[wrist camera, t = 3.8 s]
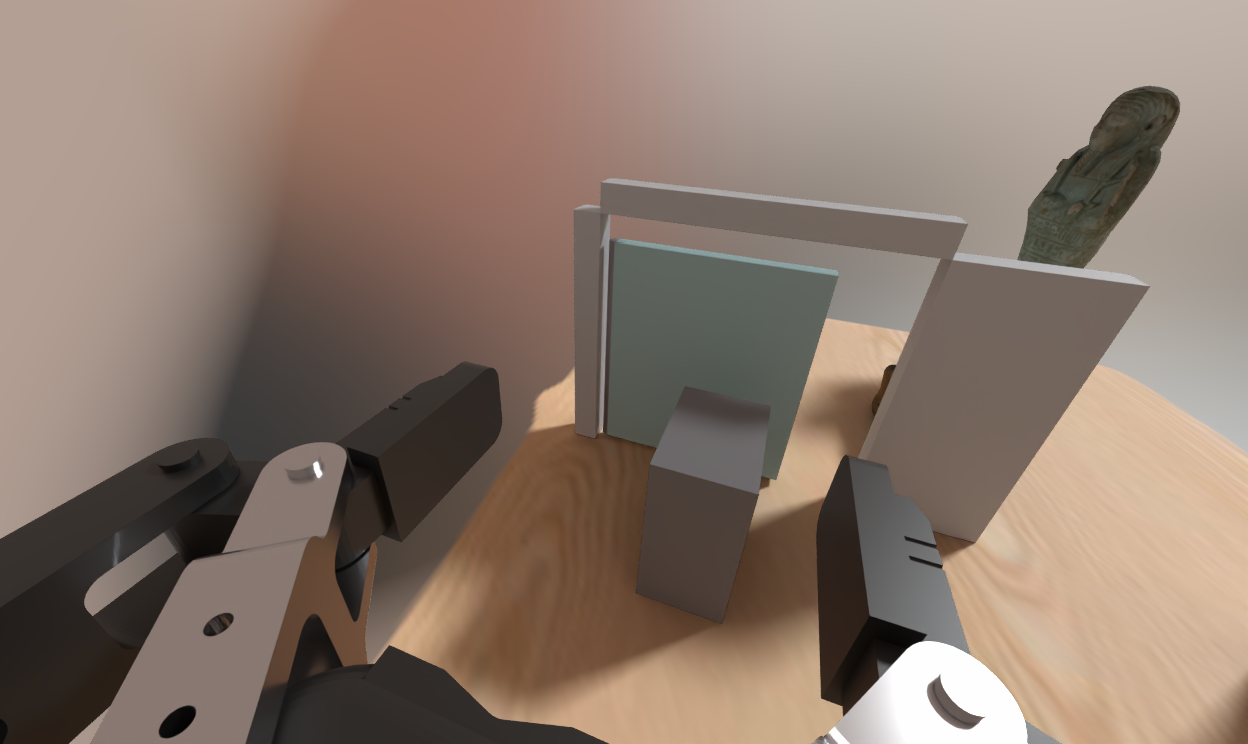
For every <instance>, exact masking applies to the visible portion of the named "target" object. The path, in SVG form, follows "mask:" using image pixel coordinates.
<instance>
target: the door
mask: <svg viewBox="0 0 1248 744" xmlns="http://www.w3.org/2000/svg"><path fill="white" fill-rule="evenodd" d="M837 279H838V271H836V270H829V269H822V268H816V267H809V266H802V265H795V264H789V263H782V262H775V261H769V260H762V259H755V258H748V257H741V256H735V255H728V254H721V253H714V252H707V251H701V250H694V249H687V248H680V247H673V246H667V245H660V244H653V243H646V242H640V241H632V240H625V239H619V238H614V239H610V240H609V264H608V294H607V324H606V354H605V384H604V414H603V432H604V433H605V434H607V435H610V436H614V437H618V438H622V439H625V440H629V441H633V442H636V443H640V444H644V445H648V446H651V447H655V448H657V447H658V445H659V442H660V440H661V438H662V436H663V434H664V431H665V429H666V427H667V425H668V422H669V420H670V418H671V416H672V414H673V411H674V409H675V407H676V405H677V403H678V400H679V398H680V396H681V394H682V392H683V389H684V387H685V386H687V387H691V388H696V389H700V390H704V391H709V392H713V393H717V394H722V395H726V396H731V397H735V398H739V399H744V400H748V401H752V402H757V403H761V404H766V405H770V406H771V409H770V416H769V424H768V431H767V438H766V446H765V453H764V460H763V468H762V475H761V476H763V477H766V478H770V479H774V480H776V479H777V476H778V472H779V469H780V466H781V463H782V459H783V456H784V453H785V450H786V446H787V443H788V440H789V436H790V433H791V430H792V427H793V423H794V420H795V417H796V414H797V410H798V407H799V404H800V400H801V397H802V394H803V391H804V387H805V384H806V381H807V378H808V374H809V371H810V368H811V364H812V361H813V358H814V355H815V351H816V348H817V345H818V342H819V338H820V335H821V332H822V328H823V325H824V322H825V319H826V315H827V312H828V309H829V306H830V302H831V299H832V296H833V292H834V289H835V286H836V283H837Z"/></svg>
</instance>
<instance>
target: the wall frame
mask: <svg viewBox="0 0 1248 744" xmlns="http://www.w3.org/2000/svg"><path fill="white" fill-rule="evenodd" d="M610 214H612V215H619V216H627V217H635V218H641V219H649V220H657V221H664V222H671V223H679V224H686V225H694V226H701V227H709V228H717V229H724V230H732V231H739V232H746V233H754V234H762V235H769V236H777V237H785V238H792V239H799V240H806V241H814V242H821V243H829V244H836V245H844V246H851V247H859V248H866V249H874V250H882V251H889V252H897V253H904V254H911V255H919V256H926V257H934V258H941V260H940V262H939V265H938V267H937V270H936V272H935V274H934V277H933V279H932V281H931V284H930V287H929V289H928V291H927V293H926V296H925V298H924V300H923V303H922V305H921V308H920V310H919V312H918V315H917V318H916V320H915V322H914V325H913V327H912V329H911V332H910V334H909V336H908V339H907V341H906V344H905V346H904V348H903V351H902V353H901V356H900V358H899V360H898V363H897V365H896V367H895V370H894V372H893V375H892V377H891V379H890V382H889V384H888V387H887V389H886V391H885V394H884V396H883V399H882V401H881V403H880V406H879V408H878V411H877V413H876V415H875V418H874V420H873V423H872V425H871V427H870V430H869V432H868V434H867V437H866V439H865V442H864V444H863V446H862V449H861V451H860V454H859V456H858V458H860V459H864V460H868V461H872V462H876V463H880V464H884V465H886V466H887V467H888V470H889V474H890V478H891V482H892V487H893V491H894V494H898V495H902V496H906V497H909V498H912V500H913V501H914V502H915V503H916V505H917V506H918V507H919V509H920V510H921V511H922V512H923V514H924V515H925V516H926V518H927V519H928V520H929V522H930V525H931V528H932V531H934V532H938V533H941V534H945V535H949V536H952V537H956V538H960V539H963V540H967V541H971V542H974V543H976V541H977V540H978V538H979V537H980V535H981V534H982V532H983V531H984V529H985V528H986V526H987V525H988V524H989V522H990V521H991V519H992V518H993V516H994V515H995V513H996V512H997V510H998V509H999V507H1000V506H1001V504H1002V503H1003V502H1004V500H1005V499H1006V497H1007V496H1008V494H1009V493H1010V491H1011V490H1012V488H1013V487H1014V485H1015V484H1016V482H1017V481H1018V480H1019V478H1020V477H1021V475H1022V474H1023V472H1024V471H1025V469H1026V468H1027V466H1028V465H1029V463H1030V462H1031V460H1032V459H1033V458H1034V456H1035V455H1036V453H1037V452H1038V450H1039V449H1040V447H1041V446H1042V444H1043V443H1044V441H1045V440H1046V438H1047V437H1048V436H1049V434H1050V433H1051V431H1052V430H1053V428H1054V427H1055V425H1056V424H1057V422H1058V421H1059V419H1060V418H1061V416H1062V415H1063V414H1064V412H1065V411H1066V409H1067V408H1068V406H1069V405H1070V403H1071V402H1072V400H1073V399H1074V397H1075V396H1076V395H1077V393H1078V392H1079V390H1080V389H1081V387H1082V386H1083V384H1084V383H1085V381H1086V380H1087V378H1088V377H1089V375H1090V374H1091V373H1092V371H1093V370H1094V368H1095V367H1096V365H1097V364H1098V362H1099V361H1100V359H1101V358H1102V356H1103V355H1104V353H1105V352H1106V350H1107V349H1108V348H1109V346H1110V345H1111V343H1112V342H1113V340H1114V339H1115V337H1116V336H1117V334H1118V333H1119V331H1120V330H1121V329H1122V327H1123V326H1124V324H1125V323H1126V321H1127V320H1128V318H1129V317H1130V315H1131V314H1132V312H1133V311H1134V309H1135V308H1136V307H1137V305H1138V304H1139V302H1140V300H1141V299H1142V298H1143V296H1144V295H1145V293H1146V292H1147V290H1148V289H1149V287H1150V286H1149V285H1147V284H1145V283H1143V282H1141V281H1139V280H1137V279H1136V278H1134V277H1132V276H1130V275H1127V274H1120V273H1112V272H1104V271H1096V270H1089V269H1081V268H1073V267H1066V266H1058V265H1050V264H1042V263H1035V262H1027V261H1019V260H1011V259H1004V258H995V257H988V256H980V255H972V254H965V253H957V252H956V251H957V249H958V246H959V244H960V242H961V239H962V237H963V235H964V232H965V230H966V228H967V225H968V223H966V222H965V221H964V220H962V219H961V218H960V217H958V216H949V215H940V214H931V213H922V212H912V211H904V210H895V209H886V208H877V207H867V206H859V205H850V204H840V203H832V202H823V201H814V200H804V199H796V198H787V197H777V196H768V195H760V194H749V193H741V192H732V191H723V190H714V189H705V188H695V187H687V186H678V185H669V184H660V183H650V182H642V181H633V180H624V179H615V178H611V179H608V180H605V181H602V182H601V201H600V206H593V205H583V206H581V207H578V208H576V209H574V311H575V312H574V323H575V324H574V325H575V433H576V434H580V435H583V436H587V437H591V438H594V439H595V438H596V437H597V435H598V434H599V432H600V430H601V429H602V427H603V414H604V384H605V354H606V324H607V294H608V264H609V240H610Z"/></svg>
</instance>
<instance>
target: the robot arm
mask: <svg viewBox="0 0 1248 744" xmlns="http://www.w3.org/2000/svg"><path fill="white" fill-rule="evenodd" d="M501 426H502V413H501V401H500V391H499V380H498V374H497V372H496V370H495V369H494V368H490V367H486V366H482V365H478V364H474V363H470V362H462V363H460V364H459V365H457V366H456V367H455V368H453V369H452V370H451V371H449V372H448V373H446V374H445V375H444V376H439V377H437V378H434V379H432V380H429V381H426V382H424V383H421V384H419V385H418V386H416V387H415V388H414V389H412V390H411V391H409V392H408V393H406V394H405V395H404V396H403V398H402V399H400V398H399V399H398V400H397V401H395V402H394V403H393V404H391V405H389V408H388V409H386V408H385V409H384V410H382V411H381V412H380V413H378V414H377V415H375V416H374V417H372V418H371V419H370V420H368V421H367V422H365V423H364V424H363V425H361V426H360V427H358V428H357V429H356V430H354V431H353V432H351V433H350V434H348V435H347V436H346V437H344V438H343V439H341V440H340V441H339V442H337V443H336V444H332V443H326V442H324V443H323V442H319V443H311V444H305V445H302V446H298V447H295V448H292V449H290V450H288V451H285V452H284V453H282V454H280V455H278V456H277V457H275V458H274V459H272V460H271V461H270V462H257V461H236V460H235V458H234V456H233V454H232V452H231V450H230V448H229V446H228V445H227V443H226V442H224V441H222V440H220V439H214V438H200V439H193V440H188V441H184V442H180V443H177V444H174V445H171V446H168V447H166V448H164V449H161V450H159V451H157V452H155V453H153V454H152V455H150V456H148V457H146V458H144V459H143V460H141V461H139V462H137V463H135V464H134V465H132V466H130V467H128V468H126V469H125V470H123V471H121V472H119V473H118V474H116V475H114V476H112V477H110V478H109V479H107V480H105V481H103V482H101V483H100V484H98V485H96V486H94V487H93V488H91V489H89V490H87V491H86V492H84V493H82V494H80V495H78V496H76V497H75V498H73V499H71V500H69V501H68V502H66V503H64V504H62V505H60V506H58V507H57V508H55V509H53V510H51V511H50V512H48V513H46V514H44V515H43V516H41V517H39V518H37V519H35V520H34V521H32V522H30V523H28V524H26V525H25V526H23V527H21V528H19V529H17V530H16V531H14V532H12V533H10V534H8V535H7V536H5V537H3V538H1V539H0V744H69V743H70V742H71V741H72V740H73V739H74V738H75V737H76V736H78V734H80V733H81V732H82V731H83V730H84V729H85V728H86V727H87V726H88V725H90V724H91V722H93V721H94V720H95V719H96V718H97V717H99V716H100V715H101V714H102V713H103V712H104V711H105V710H106V709H107V708H108V707H109V706H110V708H109V710H108V712H107V713H106V715H105V717H104V719H103V721H102V723H101V725H100V726H99V728H98V730H97V732H96V734H95V736H94V738H93V739H92V741H91V743H90V744H609V743H606V742H604V741H602V740H600V739H597V738H595V737H593V736H591V735H588V734H586V733H584V732H582V731H580V730H577V729H575V728H573V727H564V726H555V725H546V724H537V723H528V722H519V721H510V720H502V719H498V718H496V717H494V716H492V715H491V714H490V713H489V712H488V711H487V710H486V709H485V708H484V707H483V706H482V705H480V704H479V703H478V702H477V701H476V700H475V699H474V698H473V697H472V696H471V695H470V694H469V693H468V692H467V691H466V690H465V689H464V688H463V687H462V686H461V685H460V684H459V683H458V682H457V681H456V680H455V679H454V678H452V677H451V676H450V675H449V674H448V673H447V672H446V671H445V670H444V669H441V668H439V667H437V666H435V665H433V664H430V663H428V662H426V661H424V660H421V659H419V658H417V657H415V656H412V655H410V654H408V653H406V652H404V651H401V650H399V649H397V648H395V647H392V646H390V645H389V646H388V648H387V649H386V650H385V651H384V653H383V654H382V655H381V657H380V658H379V659H378V660H377V662H376V663H375V664H368V661H367V652H366V642H365V636H366V626H367V619H368V612H369V605H370V598H371V591H372V585H373V584H372V583H373V578H374V570H375V564H376V557H377V548H376V544H375V540H376V539H377V538H378V537H379V536H380V535H384V536H387V537H389V538H392V539H395V540H397V541H400V542H402V541H403V540H404V539H405V538H406V537H407V536H408V535H409V534H410V532H411V531H412V530H413V529H414V528H415V527H416V526H417V525H418V524H419V523H420V522H421V521H422V520H423V519H424V517H426V515H427V514H428V513H429V512H430V511H431V510H432V509H433V508H434V507H435V506H436V505H437V503H438V502H440V500H441V499H442V498H443V497H444V496H445V495H446V494H447V493H448V492H449V491H450V490H451V489H452V488H453V487H454V485H455V484H456V483H457V482H458V481H459V480H460V479H461V478H462V477H463V476H464V475H465V474H466V473H467V472H468V471H469V469H470V468H471V467H472V466H473V465H474V464H475V463H476V462H477V461H478V460H479V459H480V458H481V457H482V455H483V454H484V453H485V452H486V451H487V450H488V449H489V448H490V447H491V446H492V445H493V444H494V442H495V441H496V439H497V437H498V435H499V433H500V430H501ZM163 532H164V533H165V535H166V536H167V538H168V539H169V541H170V542H171V544H172V545H173V547H174V548H175V550H176V551H177V554H175V555H174V556H173V557H171V558H170V559H169V560H167V561H166V562H165V563H163V564H162V565H161V566H159V567H158V568H157V569H155V570H154V571H153V572H151V573H150V574H149V575H147V576H146V577H145V578H143V579H142V580H140V581H139V582H138V583H136V584H135V585H134V586H133V587H131V588H130V589H129V590H127V591H126V592H125V593H123V594H122V595H120V596H119V597H118V598H116V599H115V600H114V601H112V602H111V603H110V604H108V605H107V606H106V607H104V608H103V609H102V610H100V611H99V612H98V613H96V614H95V615H94V616H92V615H91V614H90V613H89V612H88V611H87V610H86V608H85V606H84V599H85V595H86V593H87V591H88V590H89V588H90V587H91V585H92V584H93V583H94V582H95V581H96V580H97V579H98V578H99V577H100V576H102V575H103V574H104V573H106V572H107V571H109V570H110V569H112V568H113V567H115V566H116V565H117V564H119V563H120V562H122V561H123V560H125V559H126V558H127V557H129V556H130V555H132V554H133V553H135V552H136V551H137V550H139V549H140V548H142V547H143V546H145V545H146V544H147V543H149V542H150V541H152V540H153V539H155V538H156V537H157V536H159V535H160V534H162V533H163ZM816 544H817V577H818V611H819V644H820V677H821V698H822V699H824V700H827V701H830V702H832V703H835V704H838V705H840V706H843V718H842V719H841V720H840V721H839V722H838V723H837V724H836V725H835V726H834V728H833V729H832V730H831V731H830V732H829V733H828V734H826V735H825V736H824V737H823V736H820V737H819V738H818V739H816V740H815V741H814V742H813V743H812V744H1061V743H1060V742H1058V741H1056V740H1055V739H1053V738H1051V737H1050V736H1048V735H1047V734H1045V733H1043V732H1042V731H1040V730H1039V729H1037V728H1036V727H1034V726H1033V725H1031V724H1030V723H1028V722H1027V721H1026V720H1024V719H1023V717H1022V714H1021V712H1020V710H1019V708H1018V706H1017V704H1016V702H1015V701H1014V699H1013V698H1012V696H1011V695H1010V693H1009V692H1008V691H1007V689H1006V688H1005V687H1004V685H1003V684H1002V683H1001V682H1000V681H999V680H998V679H997V678H996V677H995V676H994V675H993V674H992V673H991V672H990V671H989V670H988V669H987V668H986V667H985V666H983V665H982V664H981V663H979V662H978V661H977V660H975V659H974V658H972V657H971V654H970V651H969V648H968V645H967V642H966V639H965V635H964V632H963V629H962V626H961V622H960V619H959V616H958V613H957V609H956V606H955V603H954V600H953V596H952V593H951V590H950V587H949V583H948V580H947V577H946V574H945V571H944V570H942V566H943V564H942V561H941V557H940V554H939V551H938V550H937V549H936V546H937V544H936V541H935V538H934V535H933V531H932V528H931V525H930V522H929V520H928V519H927V518H926V516H925V515H924V514H923V512H922V511H921V510H920V509H919V507H918V506H917V505H916V503H915V502H914V501H913V500H912V498H909V497H906V496H902V495H898V494H894V491H893V487H892V482H891V478H890V474H889V470H888V467H887V466H886V465H884V464H880V463H876V462H872V461H868V460H864V459H860V458H856V457H852V456H848V455H845V456H844V457H843V458H842V460H841V462H840V464H839V466H838V469H837V471H836V474H835V476H834V479H833V481H832V484H831V486H830V489H829V491H828V493H827V496H826V498H825V501H824V503H823V506H822V508H821V511H820V515H819V519H818V525H817V534H816Z"/></svg>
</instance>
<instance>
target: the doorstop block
mask: <svg viewBox="0 0 1248 744" xmlns="http://www.w3.org/2000/svg"><path fill="white" fill-rule="evenodd" d="M770 409H771V406H770V405H766V404H761V403H757V402H752V401H748V400H744V399H739V398H735V397H731V396H726V395H722V394H717V393H713V392H709V391H704V390H700V389H696V388H691V387H687V386H685V387H684V389H683V392H682V394H681V396H680V398H679V400H678V403H677V405H676V407H675V409H674V411H673V414H672V416H671V418H670V420H669V422H668V425H667V427H666V429H665V431H664V434H663V436H662V438H661V440H660V442H659V445H658V447H657V449H656V451H655V453H654V456H653V458H652V460H651V462H650V466H649V475H648V485H647V494H646V503H645V513H644V522H643V532H642V541H641V550H640V560H639V569H638V578H637V588H636V593H637V594H640V595H643V596H645V597H648V598H651V599H654V600H657V601H659V602H662V603H665V604H668V605H670V606H673V607H676V608H679V609H682V610H684V611H687V612H690V613H693V614H695V615H698V616H701V617H704V618H707V619H709V620H712V621H715V622H718V623H720V624H722V622H723V618H724V615H725V611H726V608H727V604H728V601H729V597H730V594H731V590H732V587H733V583H734V580H735V576H736V573H737V569H738V566H739V562H740V559H741V555H742V552H743V548H744V545H745V541H746V538H747V534H748V531H749V527H750V524H751V520H752V517H753V513H754V510H755V506H756V503H757V499H758V496H759V490H760V482H761V475H762V468H763V460H764V453H765V446H766V438H767V431H768V424H769V416H770Z"/></svg>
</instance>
